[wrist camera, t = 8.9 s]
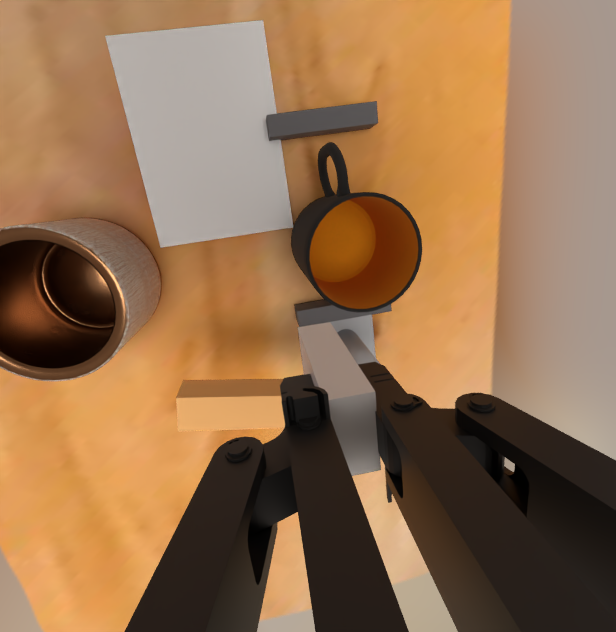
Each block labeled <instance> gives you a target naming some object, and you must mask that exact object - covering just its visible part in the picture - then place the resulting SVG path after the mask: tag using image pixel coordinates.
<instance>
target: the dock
mask: <svg viewBox="0 0 616 632" xmlns="http://www.w3.org/2000/svg"><path fill="white" fill-rule="evenodd" d="M377 123H378V115H377V101H375V102H367V103H359V104H351V105H343V106H335V107H327V108H318V109H310V110H302V111H294V112H286V113H278V114H270V115H267V116H266V125H267V131H268V138H269V141H273V140H287V139H294V138H302V137H309V136H317V135H325V134H332V133H340V132H348V131H355V130H363V129H370V128H371V127H373V126H374V125H376V124H377ZM389 311H391V304H389V305H388V306H386V307H384V308H381V309H378V310H375V311H371V312H359V313H357V312H350V311H346V310H343V309H340V308H337V307H335V306H334V305H332V304H330V303H329V302H328V301H326V300H325V299H324V300H318V301H313V302H307V303H301V304H295V312H296V318H297V322H298V325H299V327H302V326H309V325H315V324H321V323H328V322H330V323H331V324H332V326H333V327H334V329H335V330H336V332H337V333H338V335H339V337H340V338H341V340H342V341H343V343H344V344H345V346H346V347H347V349H348V350H349V352H350V353H351V355H352V356H353V358H354V360H355V361H356V363H357V364H363V363H369V362H377V363H379V362H378V361H377V359H376V355H375V344H374V333H373V322H372V314H378V313H383V312H389ZM379 364H380V363H379Z"/></svg>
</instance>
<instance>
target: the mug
mask: <svg viewBox="0 0 616 632" xmlns="http://www.w3.org/2000/svg"><path fill="white" fill-rule="evenodd" d="M328 156H331V157H332V159H333V162H334V164H335V168H336V172H337V179H338V189H337V195H335V193H334V192H333V190H332V188H331V186H330V182H329V178H328V173H327V165H326V162H327V157H328ZM318 169H319V175H320V180H321V184H322V188H323V191H324V194H325V197H322V198H319V199H317V200H315V201H314V202H312V203H310V204H309V205H308V206H307V207H306V208H304V210H303V211H302V212H301V213H300V215H299V216H298V218H297V220H296V221H295V224H294V227H293V230H292V236H291V246H292V252H293V255H294V258H295V260H296V262H297V264H298V265H299V267H300V268H301V270H302V271H303V273H304V274H305V275H306V277H307V278H308V280H309V281H310V282H311V284H312V285H313V286H314V288H315V289H316V290H317V291H318V293H319V294H320V295H321V296H322V297H323V298H324V299H325V300H326V301H328V302H329V303H330V304H332V305H334V306H335V307H337V308H340V309H343V310H346V311H350V312H357V313H359V312H371V311H375V310H378V309H381V308H384V307H386V306H388V305H389V304H391V303H393V302H394V301H396V300H397V299H398V298H399V297H401V296H402V295H403V294H404V292H405V291H406V290H407V289H408V288H409V287H410V285H411V283H412V282H413V280H414V279H415V276H416V274H417V272H418V269H419V266H420V262H421V255H422V241H421V236H420V232H419V228H418V226H417V224H416V221H415V220H414V218H413V217H412V215H411V214H410V212H409V211H408V210H407V209H406V208H405V207H404V206H403V205H402V204H401V203H399V202H398V201H396V200H395V199H393V198H391V197H388V196H386V195H383V194H378V193H370V192H362V193H350V190H349V184H348V176H347V169H346V165H345V161H344V158H343V155H342V153H341V151H340V150H339V148H338V147H337V145H335V144H334V143H332V142H329V143H327V144H326V145H324V146H323V147H322V148H321V149H320V151H319V154H318Z"/></svg>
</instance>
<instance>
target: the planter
mask: <svg viewBox="0 0 616 632" xmlns="http://www.w3.org/2000/svg"><path fill="white" fill-rule="evenodd" d="M160 292H161V279H160V273H159V270H158V267H157V264H156V262H155V259H154V258H153V256H152V254H151V253H150V251H149V250H148V248H147V247H146V246H145V245H144V244H143V243H142V241H141V240H140V239H138V238H137V237H136V236H135V235H133V234H132V233H131V232H129V231H128V230H126V229H124V228H123V227H121V226H119V225H116V224H114V223H111V222H108V221H104V220H100V219H94V218H75V219H66V220H58V221H51V222H43V223H34V224H24V225H15V226H9V227H4V228H0V367H1V368H2V369H4V370H6V371H8V372H11V373H13V374H16V375H19V376H22V377H25V378H29V379H34V380H41V381H65V380H72V379H76V378H80V377H83V376H86V375H88V374H90V373H92V372H94V371H96V370H98V369H99V368H101V367H102V366H104V365H105V364H106V363H107V362H109V361H110V360H111V359H112V358H113V357H114V356H115V355H116V354H117V352H118V351H119V350H120V349H121V348H122V347H123V346H124V345H125V344H126V343H127V342H128V341H129V340H130V339H131V338H132V337H133V336H134V335H135V334H136V333H137V332H138V331H139V330H140V329H141V328H142V327H143V326H144V325H145V323H146V322H147V321H148V320H149V319H150V318H151V316H152V315H153V313H154V311H155V309H156V307H157V304H158V301H159V298H160Z"/></svg>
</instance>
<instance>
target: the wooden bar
mask: <svg viewBox="0 0 616 632" xmlns="http://www.w3.org/2000/svg"><path fill="white" fill-rule="evenodd" d="M282 381H283V379H243V380H183V382H182V385H181V387H180V390H179V392H178V395H177V397H176V404H177V423H178V432H179V431H210V430H241V429H272V428H285V421H284V415H283V408H282V402H281V401H282V398H281V391H280V384H281V383H282Z"/></svg>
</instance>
